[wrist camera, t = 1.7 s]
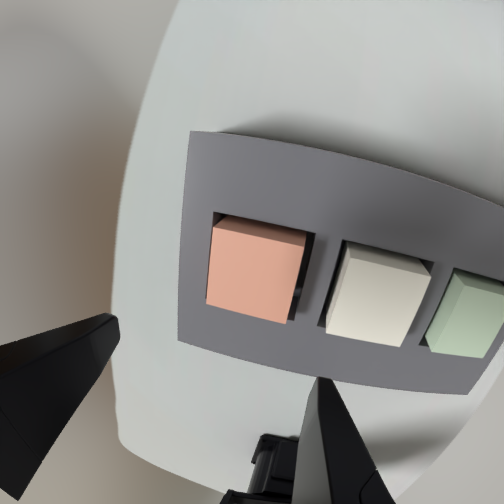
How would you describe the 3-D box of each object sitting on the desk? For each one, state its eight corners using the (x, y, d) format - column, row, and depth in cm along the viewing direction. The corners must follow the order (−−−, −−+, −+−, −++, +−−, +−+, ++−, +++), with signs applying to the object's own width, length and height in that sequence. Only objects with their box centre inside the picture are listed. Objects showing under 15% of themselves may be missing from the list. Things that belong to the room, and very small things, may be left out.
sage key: (469, 333, 14) (482, 358, 12) (420, 325, 15) (431, 351, 13) (496, 278, 13) (515, 298, 10) (446, 264, 13) (464, 285, 11)
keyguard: (454, 363, 17) (467, 394, 14) (198, 311, 20) (177, 340, 17) (520, 215, 13) (550, 231, 9) (216, 132, 16) (190, 130, 12)
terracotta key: (291, 298, 16) (285, 324, 14) (221, 281, 17) (206, 303, 14) (307, 229, 14) (304, 247, 12) (230, 213, 15) (213, 227, 13)
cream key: (391, 320, 15) (399, 346, 13) (326, 306, 16) (325, 333, 13) (416, 256, 14) (431, 277, 11) (346, 238, 14) (350, 257, 12)
